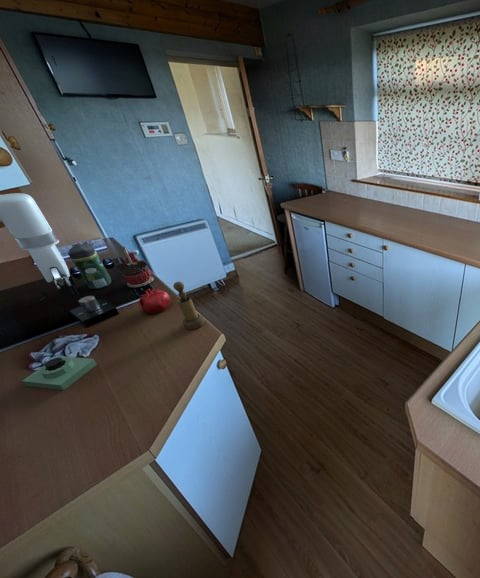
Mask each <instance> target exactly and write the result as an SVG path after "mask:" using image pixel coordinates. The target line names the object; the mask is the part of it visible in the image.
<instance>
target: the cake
mask: <svg viewBox="0 0 480 578" xmlns="http://www.w3.org/2000/svg"><path fill="white" fill-rule="evenodd" d="M122 249H123V251H124V253H125V259H124V262H119V263H117V264H116V265H115V266H116V268H117V270H120V271H122V274H121V276H122V278H123V281H125V282H127V283H126V285H127V287H129V288H134V289H135V288H140V287H143V286H146V285H149V284H151V283H153V282H154V279H155V278H154V277H153V276H151V275H152V272H151V270H150V268H149V267H147V266H149V262H148V261H147V260H145V259H139V258H138V257H136V256H138V255H139V253H140V252H139V250H137V249H134V250H132V251H130V252H128V250H127V248H126V246H122Z"/></svg>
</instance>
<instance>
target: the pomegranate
mask: <svg viewBox="0 0 480 578" xmlns="http://www.w3.org/2000/svg"><path fill="white" fill-rule="evenodd" d="M144 292H145V294H140V295H139V300H138V306H139V307H140V309H141V310H142V311H144V312H146V313H148V314H157V313H160V312H161V313H162V312H163V311H166V309H167V308H168V307H169V306H170V304H171V295H169V293H167V292H166V291H164V290H161V289H160V288H156V289H154V288H152V289H150V288H148V289H146V290H144Z"/></svg>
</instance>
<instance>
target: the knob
mask: <svg viewBox="0 0 480 578" xmlns="http://www.w3.org/2000/svg"><path fill="white" fill-rule="evenodd" d="M97 300H98V299H96V297H95V296H94V295H88V296H87V295H86V296H84V297H82V298H80V299H79V300H78V303H79V305H80V306H82V308H83V309H84V311H85V312H93V311H96V310H98V309H99V308H100V305H99V304H98V302H97Z"/></svg>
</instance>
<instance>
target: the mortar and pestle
mask: <svg viewBox="0 0 480 578" xmlns="http://www.w3.org/2000/svg"><path fill="white" fill-rule="evenodd" d="M184 289H185V284H184V282H182V281H176V282H174V283H173V290H175V291H177V292H178V294H177V296H178V297H179V298H178V300H177V303H178V305H179V308H180V310H181V312H182V314H183V317H184V318H183V320H182V325H183V328H184V329H186V330H188V331H193V330H196V329H199V328H201V327H202V326H204V324H205V319H204V316H203V315H202V314H200V315H199V313H198V312H197V310H196V307H195V304H194V303H193V299H192V298H191V296H187V293H186V291H184Z"/></svg>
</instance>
